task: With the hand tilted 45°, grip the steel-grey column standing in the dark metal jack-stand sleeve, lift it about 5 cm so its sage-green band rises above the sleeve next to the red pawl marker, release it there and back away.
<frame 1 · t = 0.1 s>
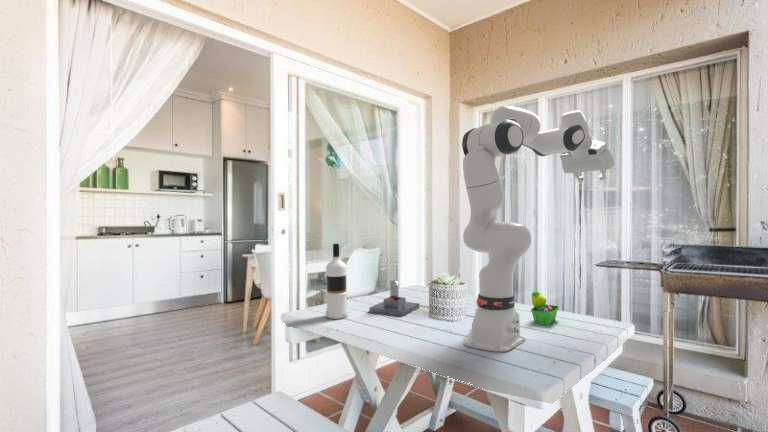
hand: (591, 180, 166), 54 cm above the table, tool tilted 30°, fingers open, 8 cm apart
column: (394, 293, 176), point 7 cm above the table, slide at 0.0 cm
stand base: (394, 310, 176), on the table
fruit basket: (543, 321, 156), on the table
vodka: (337, 317, 167), on the table
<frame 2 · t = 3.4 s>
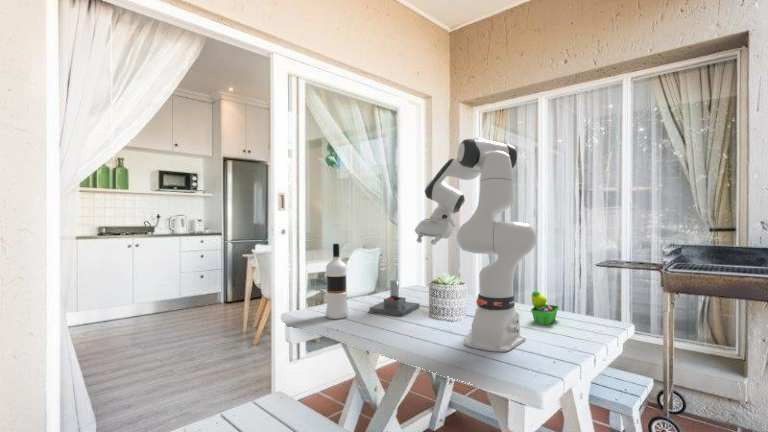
hand: (425, 242, 187), 28 cm above the table, tool tilted 40°, fingers open, 8 cm apart
nothing on the table moved.
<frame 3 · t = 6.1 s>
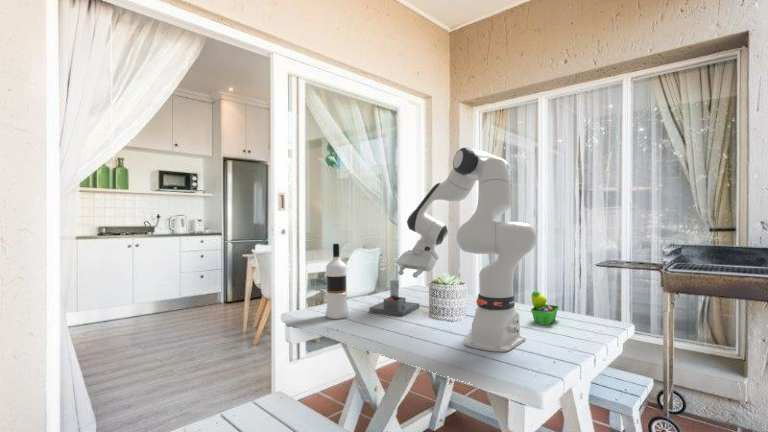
hand: (407, 275, 181), 14 cm above the table, tool tilted 45°, fingers open, 8 cm apart
nothing on the table moved.
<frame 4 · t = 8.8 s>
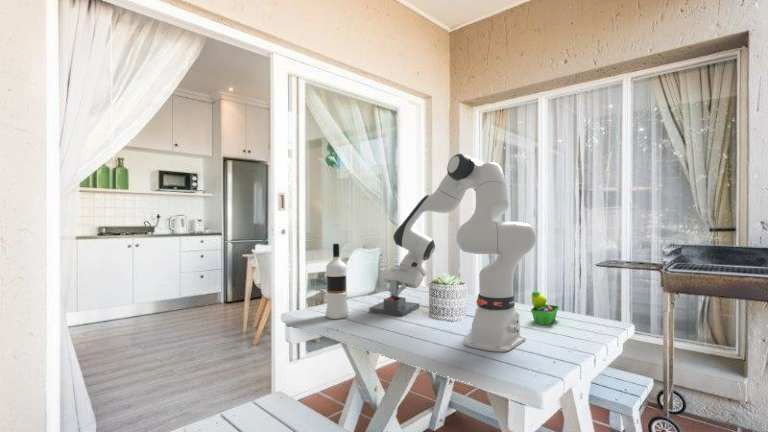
hand: (393, 292, 175), 8 cm above the table, tool tilted 45°, fingers closed on column, 4 cm apart
column: (394, 293, 176), point 7 cm above the table, slide at 0.0 cm, touching gripper
everything else where it was.
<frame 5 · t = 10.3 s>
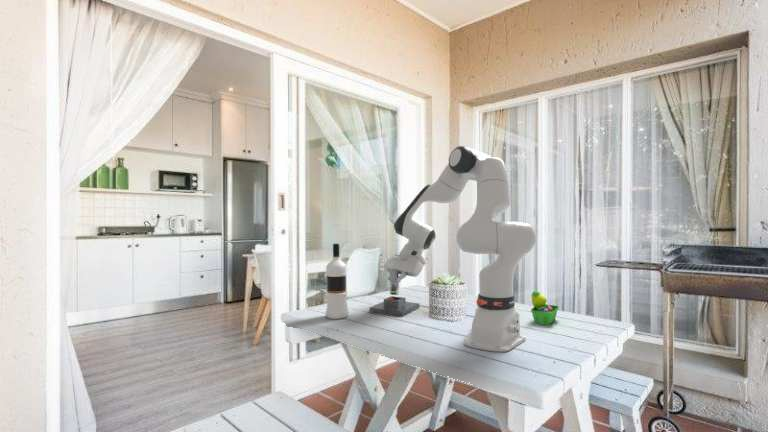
hand: (393, 280, 175), 13 cm above the table, tool tilted 45°, fingers closed on column, 4 cm apart
column: (394, 281, 176), point 12 cm above the table, slide at 4.8 cm, touching gripper
everything else where it was.
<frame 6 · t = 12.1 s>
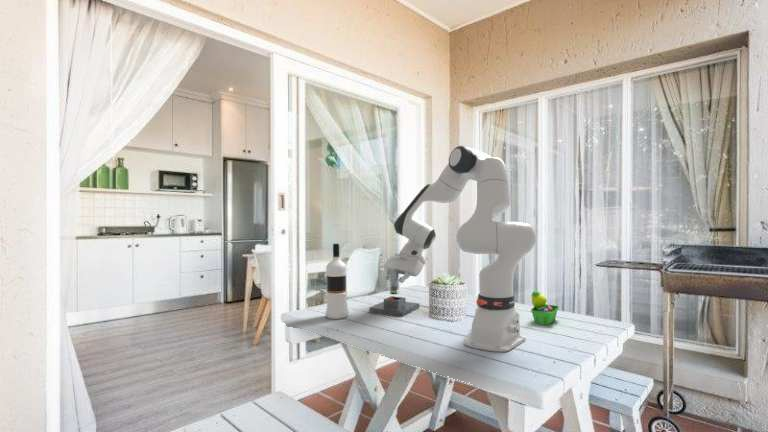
hand: (393, 280, 175), 13 cm above the table, tool tilted 45°, fingers open, 8 cm apart
column: (394, 281, 176), point 12 cm above the table, slide at 5.0 cm
everything else where it was.
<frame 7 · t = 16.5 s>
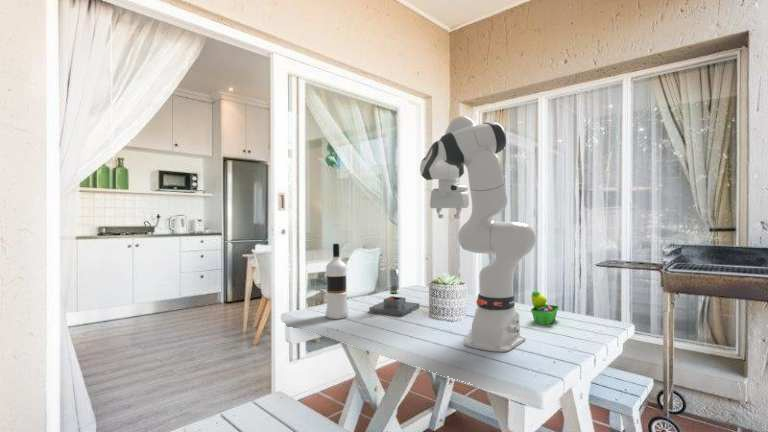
hand: (448, 218, 183), 39 cm above the table, tool pointing down, fingers open, 8 cm apart
nothing on the table moved.
at the end: column slide at 5.0 cm; the gripper is holding nothing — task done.
